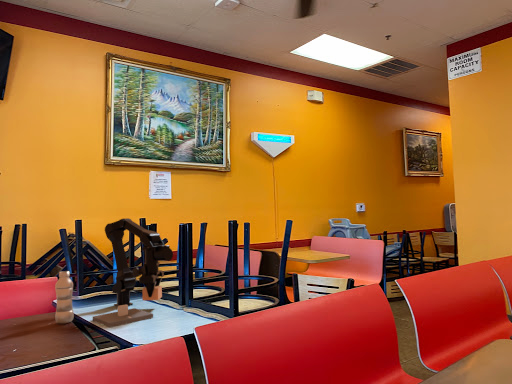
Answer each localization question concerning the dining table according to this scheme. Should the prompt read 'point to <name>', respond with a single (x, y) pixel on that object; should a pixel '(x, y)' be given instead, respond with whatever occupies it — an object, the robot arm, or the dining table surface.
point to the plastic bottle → (64, 298)
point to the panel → (122, 316)
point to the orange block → (156, 293)
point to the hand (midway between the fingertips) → (152, 295)
